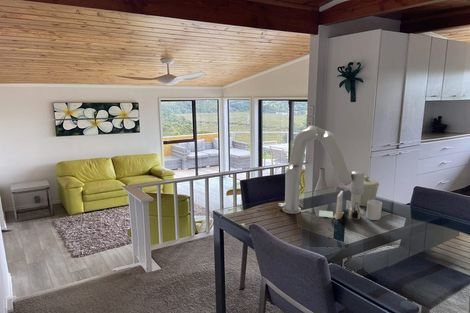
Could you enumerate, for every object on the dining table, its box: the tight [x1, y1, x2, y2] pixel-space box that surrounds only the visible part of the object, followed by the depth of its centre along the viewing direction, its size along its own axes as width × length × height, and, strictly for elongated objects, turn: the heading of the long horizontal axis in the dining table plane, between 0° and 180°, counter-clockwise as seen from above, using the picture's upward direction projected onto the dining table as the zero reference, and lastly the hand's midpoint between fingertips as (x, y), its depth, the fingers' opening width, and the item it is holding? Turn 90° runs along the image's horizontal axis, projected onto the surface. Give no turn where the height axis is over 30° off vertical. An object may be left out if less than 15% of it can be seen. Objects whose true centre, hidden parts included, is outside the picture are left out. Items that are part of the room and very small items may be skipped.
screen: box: [332, 190, 345, 220], centre depth 219 cm, size 4×11×16 cm, turn 150°
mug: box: [365, 199, 383, 221], centre depth 218 cm, size 12×9×11 cm
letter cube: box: [348, 206, 361, 220], centre depth 219 cm, size 6×6×6 cm
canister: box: [360, 175, 380, 208], centre depth 238 cm, size 18×18×21 cm
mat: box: [318, 209, 334, 219], centre depth 223 cm, size 9×9×1 cm
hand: (354, 215), depth 219 cm, fingers open, 6 cm apart
